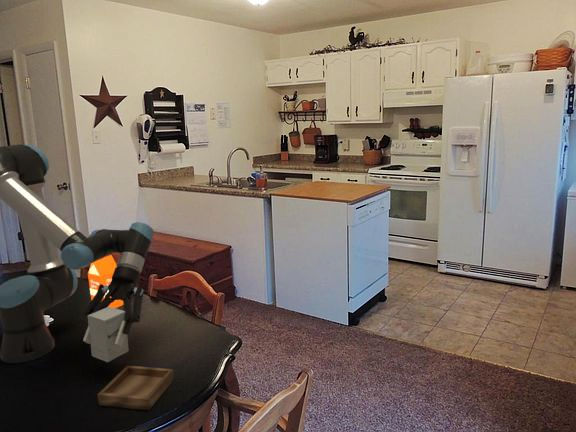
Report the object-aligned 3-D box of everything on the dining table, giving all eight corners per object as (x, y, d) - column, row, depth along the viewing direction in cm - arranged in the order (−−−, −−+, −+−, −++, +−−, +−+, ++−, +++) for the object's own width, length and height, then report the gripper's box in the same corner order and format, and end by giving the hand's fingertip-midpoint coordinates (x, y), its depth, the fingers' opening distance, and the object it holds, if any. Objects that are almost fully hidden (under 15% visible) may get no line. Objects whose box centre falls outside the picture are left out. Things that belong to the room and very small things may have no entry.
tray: (98, 405, 116) (97, 394, 116) (128, 375, 130) (127, 365, 129) (149, 410, 113) (147, 399, 113) (174, 379, 127) (173, 369, 126)
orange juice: (124, 304, 181) (118, 256, 176) (104, 312, 173) (98, 262, 169) (111, 301, 185) (105, 253, 181) (92, 308, 177) (85, 259, 173)
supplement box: (108, 363, 126) (103, 320, 123) (91, 356, 130) (86, 314, 127) (129, 351, 132) (125, 310, 129) (113, 345, 136) (108, 305, 133)
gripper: (166, 277, 139) (143, 351, 127) (102, 273, 144) (74, 344, 132) (156, 266, 133) (132, 343, 121) (89, 262, 137) (60, 336, 126)
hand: (102, 343), depth 127 cm, fingers closed on supplement box, 9 cm apart
